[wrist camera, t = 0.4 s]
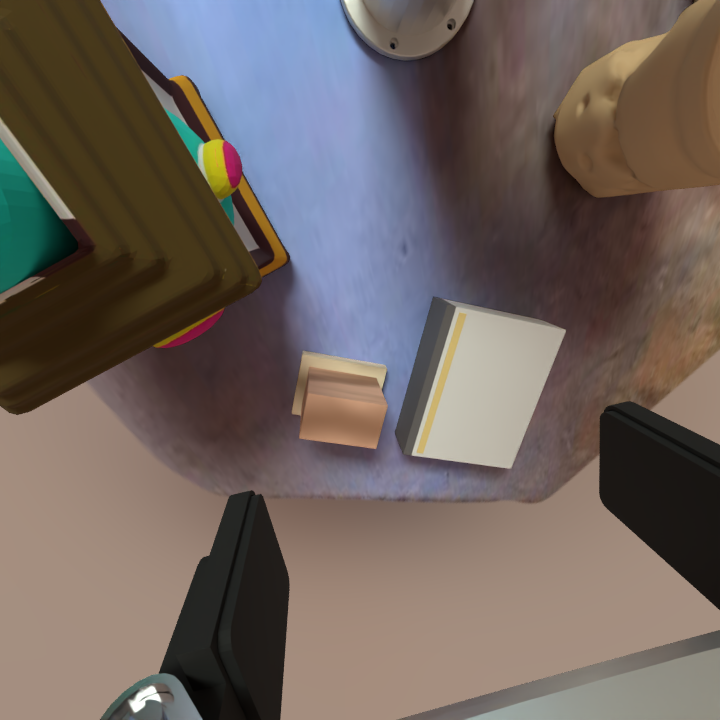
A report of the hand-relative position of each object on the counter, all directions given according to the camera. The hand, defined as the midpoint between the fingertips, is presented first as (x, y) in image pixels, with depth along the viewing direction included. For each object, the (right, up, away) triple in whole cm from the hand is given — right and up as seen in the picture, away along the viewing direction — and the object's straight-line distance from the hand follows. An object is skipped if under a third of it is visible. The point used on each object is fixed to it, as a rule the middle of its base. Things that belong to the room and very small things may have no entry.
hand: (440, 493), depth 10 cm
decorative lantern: (-21, +18, +28) cm, 39 cm away
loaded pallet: (-5, 0, +36) cm, 36 cm away
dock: (+12, +1, +37) cm, 39 cm away
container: (+23, +27, +30) cm, 46 cm away
